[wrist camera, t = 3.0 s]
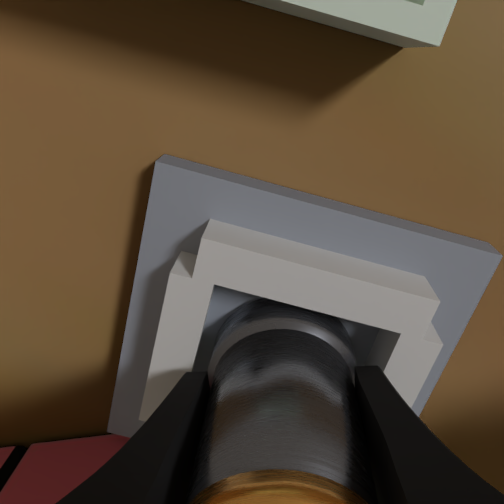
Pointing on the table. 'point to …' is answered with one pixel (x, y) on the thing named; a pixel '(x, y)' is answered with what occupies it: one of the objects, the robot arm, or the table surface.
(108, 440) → the puzzle cube
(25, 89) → the table surface
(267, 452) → the dark cylindrical piece
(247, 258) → the mount plate
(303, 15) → the bin
